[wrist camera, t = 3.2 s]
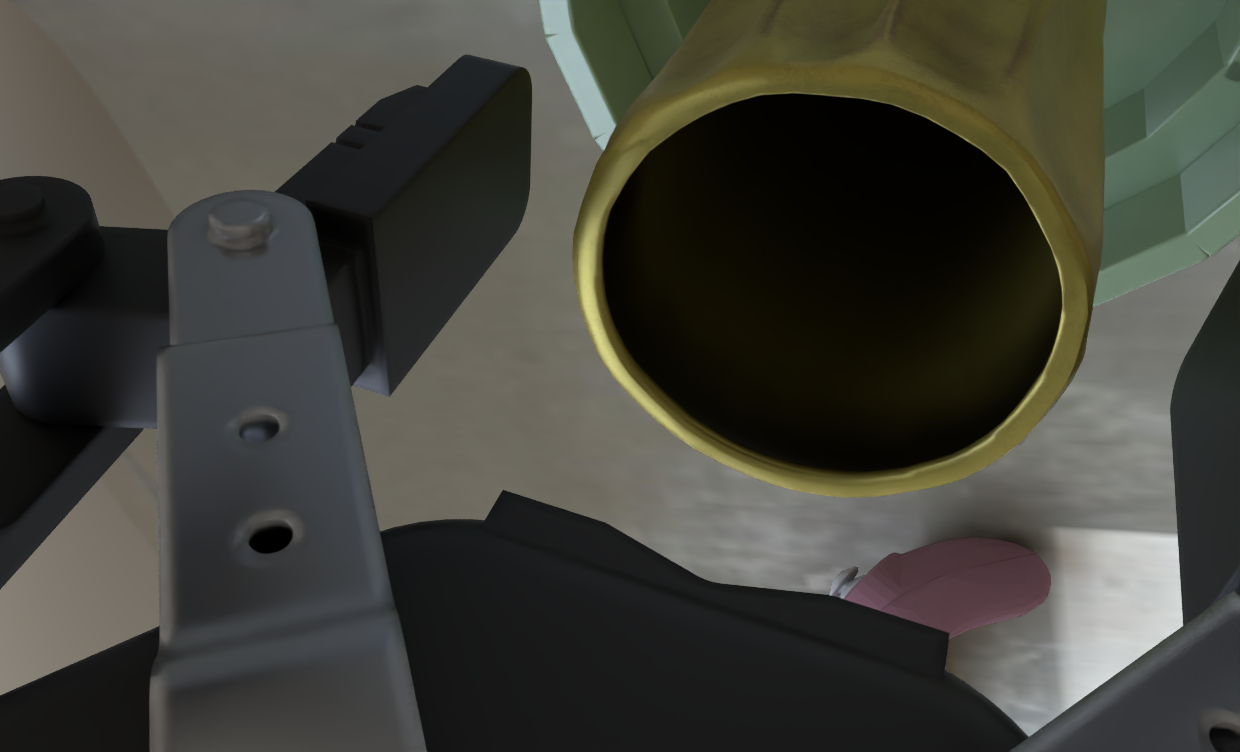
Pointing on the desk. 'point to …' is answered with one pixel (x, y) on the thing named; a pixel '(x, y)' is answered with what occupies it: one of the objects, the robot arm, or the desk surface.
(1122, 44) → the bowl
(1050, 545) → the desk surface
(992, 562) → the video game controller
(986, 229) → the vase
